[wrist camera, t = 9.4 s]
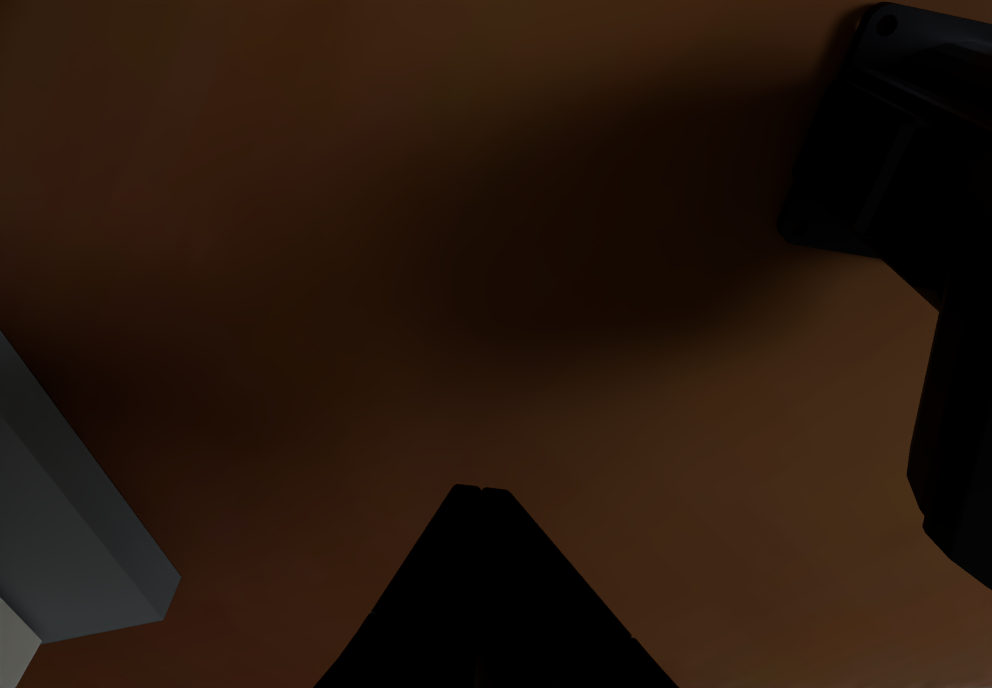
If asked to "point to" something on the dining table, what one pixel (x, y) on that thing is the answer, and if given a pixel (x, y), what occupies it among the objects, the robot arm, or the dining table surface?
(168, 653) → the dining table surface
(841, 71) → the robot arm
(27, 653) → the button
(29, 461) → the switch panel
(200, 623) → the dining table surface
